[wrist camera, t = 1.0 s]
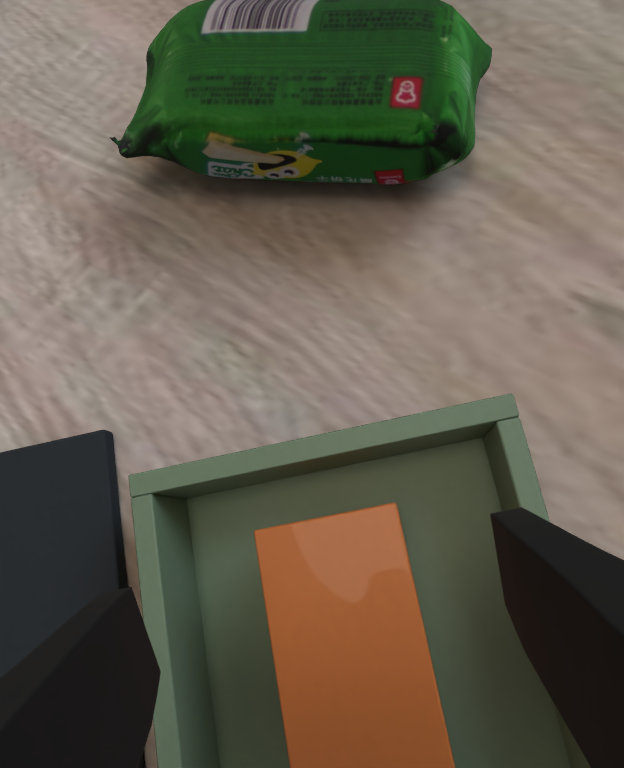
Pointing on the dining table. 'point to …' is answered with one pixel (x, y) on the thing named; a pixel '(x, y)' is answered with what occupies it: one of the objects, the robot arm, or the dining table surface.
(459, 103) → the snack package
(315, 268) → the dining table surface
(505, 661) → the green tray
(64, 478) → the mat
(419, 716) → the orange rectangular block
